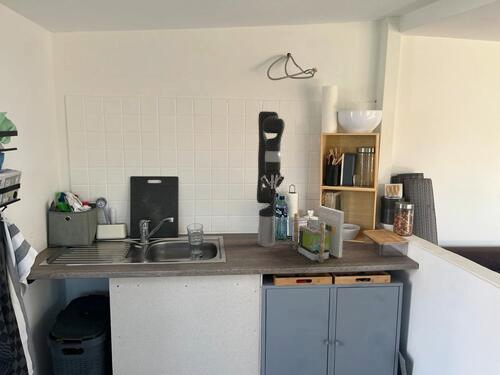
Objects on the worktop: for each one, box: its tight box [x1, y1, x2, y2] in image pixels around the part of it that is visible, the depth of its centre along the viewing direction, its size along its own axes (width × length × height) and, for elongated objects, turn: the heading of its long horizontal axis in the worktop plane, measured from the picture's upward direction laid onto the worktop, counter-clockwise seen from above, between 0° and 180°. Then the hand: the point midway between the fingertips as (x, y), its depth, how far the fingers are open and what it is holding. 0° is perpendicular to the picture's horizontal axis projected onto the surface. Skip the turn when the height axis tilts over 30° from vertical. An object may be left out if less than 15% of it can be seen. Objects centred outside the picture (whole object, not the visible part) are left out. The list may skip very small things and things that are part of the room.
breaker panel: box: [317, 205, 345, 259], centre depth 199 cm, size 18×3×24 cm, turn 28°
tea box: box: [298, 225, 330, 261], centre depth 195 cm, size 15×10×15 cm
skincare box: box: [308, 216, 318, 226], centre depth 214 cm, size 8×7×16 cm
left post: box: [292, 212, 300, 251], centre depth 204 cm, size 2×2×20 cm
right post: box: [318, 222, 325, 263], centre depth 185 cm, size 2×2×20 cm
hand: (272, 195), depth 182 cm, fingers closed
